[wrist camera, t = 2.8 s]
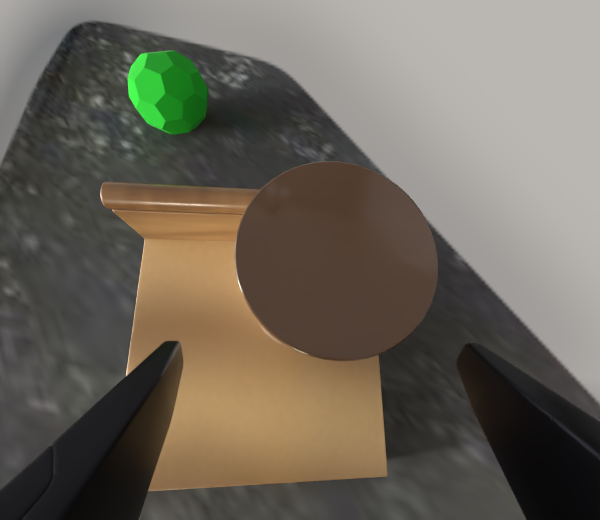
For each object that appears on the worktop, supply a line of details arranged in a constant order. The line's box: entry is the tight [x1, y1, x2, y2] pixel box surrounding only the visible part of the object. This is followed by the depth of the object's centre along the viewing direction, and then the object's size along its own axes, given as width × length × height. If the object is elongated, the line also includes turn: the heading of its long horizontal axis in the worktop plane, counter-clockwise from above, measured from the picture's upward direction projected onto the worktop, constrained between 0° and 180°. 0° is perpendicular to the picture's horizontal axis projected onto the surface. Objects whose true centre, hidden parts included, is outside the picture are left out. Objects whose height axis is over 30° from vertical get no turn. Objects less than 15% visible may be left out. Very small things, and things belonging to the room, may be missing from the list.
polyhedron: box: [128, 51, 208, 135], centre depth 20 cm, size 5×5×5 cm
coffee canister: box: [234, 161, 438, 361], centre depth 13 cm, size 6×6×10 cm
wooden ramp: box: [100, 182, 388, 491], centre depth 15 cm, size 14×14×7 cm
